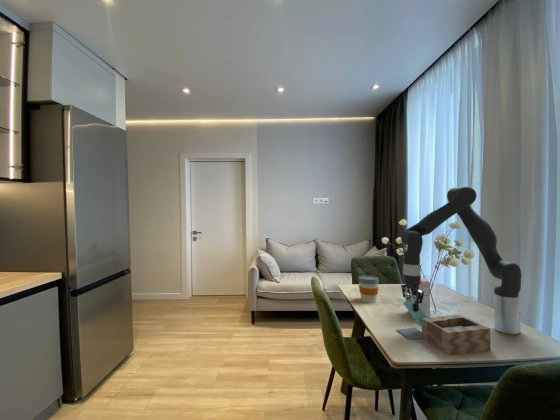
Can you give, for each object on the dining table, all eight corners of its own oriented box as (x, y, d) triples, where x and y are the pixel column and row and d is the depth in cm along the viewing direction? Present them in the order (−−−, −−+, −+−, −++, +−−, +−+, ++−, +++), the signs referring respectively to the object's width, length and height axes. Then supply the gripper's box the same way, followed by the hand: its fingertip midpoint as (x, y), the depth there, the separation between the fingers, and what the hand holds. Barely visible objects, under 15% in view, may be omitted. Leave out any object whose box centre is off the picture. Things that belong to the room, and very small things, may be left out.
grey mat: (415, 328, 141) (415, 327, 141) (429, 337, 131) (429, 336, 131) (396, 330, 139) (396, 329, 139) (409, 340, 129) (409, 338, 129)
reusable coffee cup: (380, 304, 178) (380, 280, 178) (359, 303, 180) (359, 279, 180) (377, 297, 190) (376, 275, 190) (357, 297, 192) (357, 274, 192)
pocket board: (459, 333, 135) (459, 314, 135) (490, 349, 119) (490, 328, 119) (421, 337, 131) (421, 318, 131) (448, 355, 116) (448, 332, 116)
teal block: (419, 325, 138) (425, 319, 139) (425, 329, 134) (431, 323, 134) (403, 303, 137) (409, 297, 137) (409, 306, 132) (415, 300, 133)
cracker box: (407, 311, 165) (407, 275, 165) (418, 311, 165) (417, 274, 165) (419, 320, 151) (418, 281, 151) (430, 320, 151) (430, 281, 151)
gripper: (429, 276, 129) (429, 314, 129) (409, 269, 143) (409, 304, 143) (414, 277, 127) (414, 315, 127) (395, 270, 141) (396, 305, 141)
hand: (412, 309), depth 135 cm, fingers closed on teal block, 4 cm apart
